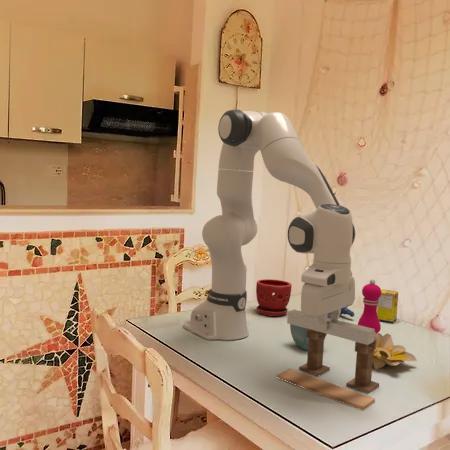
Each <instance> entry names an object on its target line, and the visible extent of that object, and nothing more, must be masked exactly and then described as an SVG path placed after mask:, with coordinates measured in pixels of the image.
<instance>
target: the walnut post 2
mask: <svg viewBox="0 0 450 450" xmlns="http://www.w3.org/2000/svg"><path fill="white" fill-rule="evenodd" d="M354 342H355V344H354V352H355V353H356V359H355V360H356V361H355V369H354V370H355V373H354V374H355V375H354V378H352V379H350V380H349V381H347V382H345V383H346V384H345V387H348V388H350V387H351V389H353V388H354V389H353V390H355V391H356V390H357V391H360V392H362V393H366V394H368V395H369V394H370V393H372V392H373V391H374V390H376V389H377V388H379V386H380V383H379V382H377V381H373V380H372V376H373V375H372V373H373V365H374V362H373V351H374V350H375V349H376V340H374V342H372V343H371V344H369V345H367V344H363V343H359V342H356V341H354Z"/></svg>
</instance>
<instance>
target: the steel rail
mask: <svg viewBox="0 0 450 450" xmlns="http://www.w3.org/2000/svg"><path fill="white" fill-rule="evenodd" d="M286 318H287V319H286V324H289V325H290V324H292V325H296V326H299V327H303V328H307V329H311V330H314V331H318V332H322V333H326V334H327V335H330V336H333V337H336V338H340V339H345V340H348V341H352V342H359V343H363V344H367V345H369V344H371V343H372V342H374V332H375V329H372V328H368V327H364V326H360V325H358V324H354V323H351V322H348V321H344V320H339V319H338V320H335V319H331V318H328V317H327V318H326V320H327V323H329V326H328V330H326V331H321V330H319V322H318V319H317V318H310V317H306V316H304V315H303V314H302V312H301V310H299V309H298V310H297V309H292V310H289V311H287V317H286Z"/></svg>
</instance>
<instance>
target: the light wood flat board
mask: <svg viewBox="0 0 450 450" xmlns="http://www.w3.org/2000/svg"><path fill="white" fill-rule="evenodd" d="M277 377H278V378H280V379H279V380H281V379H283V380H286V381H288V382H287V383H289V382H291V383H293V384H292V385H294V384H296V385H295V386H297V385H299V386H302V387H304V388H303V389H305V388H306V389H305V390H307V389H309V390H308V391H310V390H311V392H313V391H314V392H313V393H316V392H317V393H316V394H318V393H319V395H321V394H322V395H321V396H325V397H326V396H327V397H326V398H329V399H332V398H333V400H334V399H335V400H334V401H337V400H338V401H337V402H340V401H341V402H340V403H342V402H344V403H343V404H345V403H346V404H345V405H348V404H349V405H348V406H350V405H351V407H353V406H354V407H353V408H355V409H358V408H360V409H359V410H361V409H362V411H364V410H366V409H368V408H369V407H370V406H372V404H373V403H374V404H375V401H376V398H374V397H372V396H368V395H366V394H362V393H360V392H358V391H356V390H352V389H350V388H345V387H343V386H340V385H338V384H334V383H331V382H329V381H327V380H323V379H320V378H317V377H316V376H315V377H314V376H312V375H308V374H306V373H303V372H301V371H298V370H294V369H291V368H289V369H286V370H284V371H282V372H280V373H278V374H276V378H277ZM278 378H277V379H278ZM283 380H282V381H283ZM286 381H285V382H286ZM291 383H290V384H291ZM299 386H298V387H299ZM302 387H301V388H302Z"/></svg>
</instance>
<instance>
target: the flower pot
mask: <svg viewBox="0 0 450 450" xmlns="http://www.w3.org/2000/svg"><path fill="white" fill-rule="evenodd" d="M289 328H290V334H291V337H292V340H293V342H294V343H295V345H296V346H297V347H299V348H301V349H303V350H305V351H308V341H309V338H308V337H306V335H307V328H303V327H299V326H296V325H292V324H289ZM326 336H327V335H326ZM326 336H324V340H325V339H326V338H327V337H326Z"/></svg>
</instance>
